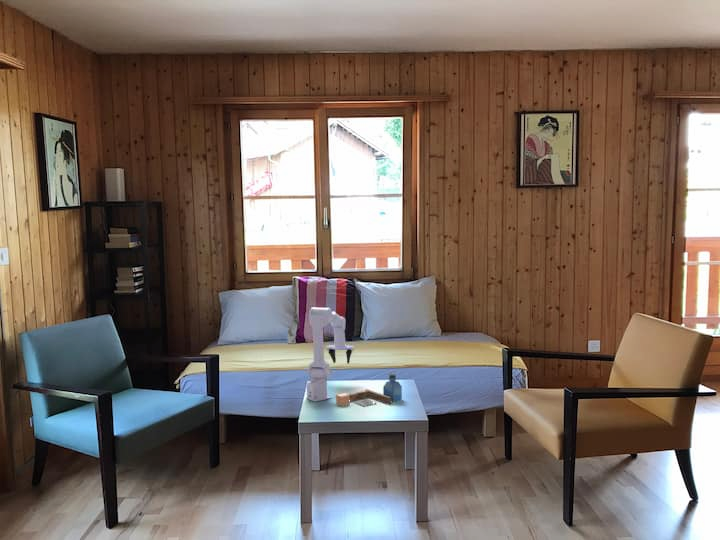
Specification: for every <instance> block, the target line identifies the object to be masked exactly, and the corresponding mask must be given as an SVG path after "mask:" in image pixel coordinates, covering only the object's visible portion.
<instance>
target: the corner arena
mask: <svg viewBox="0 0 720 540" xmlns="http://www.w3.org/2000/svg"><path fill="white" fill-rule="evenodd" d="M348 395H349V400H350V401H349V402H352V401H353V400H354V402H353V404H355V403H356V405H358V404H359V405H358V406H361V407H363V406H364V407H363V408H365V406H366V407H369V406H368V405H370V406H373V405H372V404H373V401H374V400H375V399H377V400H376V401H374V402H375V403H374V405H377V404H376V403H378V400H380V401H379V402H381V401H383V402H382V403H384V402H385V403H384V404H387V403H388V405H390V403H391V404H392V402H391V397H389V396H386V395H383V394H382V393H379V392H377V391H373V390H371V389H368V388H367V389H364V390H362V391H359V392H354V393H350V394H348ZM365 397H367V398H365ZM370 397H371V398H370ZM368 398H370V399H373V398H374V399H373V400H370V399H368ZM357 399H358V401H357ZM361 399H362V400H361Z"/></svg>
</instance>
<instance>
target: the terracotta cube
mask: <svg viewBox="0 0 720 540" xmlns="http://www.w3.org/2000/svg"><path fill="white" fill-rule="evenodd" d="M350 402H351V401H349V394H348V393H345V392H342V393H339V394H335V404H336V405H338V404H339V405H338V406H340V405H341V407H344V406H347V405H346V404H349V405H350ZM343 405H344V406H343Z"/></svg>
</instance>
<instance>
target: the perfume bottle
mask: <svg viewBox="0 0 720 540" xmlns="http://www.w3.org/2000/svg"><path fill="white" fill-rule="evenodd" d="M388 376H389V377H388V380H387V381H386V382H385V383H384V385H383V386H382V387H383V388H382V389H383V390H382V391H383V395H386V396H389V397H391V401H392V402H391V403H395V402H398V401H402V400H403V399H402V398H403V396H402V395H403V394H402V393H403V388H402V387H403V386H402V385H401V384H400V382H399V381H397V376H396V374H394V373H391V374H389V375H388ZM401 399H402V400H401ZM397 400H398V401H397ZM394 401H395V402H394Z"/></svg>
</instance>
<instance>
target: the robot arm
mask: <svg viewBox="0 0 720 540" xmlns="http://www.w3.org/2000/svg"><path fill="white" fill-rule="evenodd" d="M308 321H309V325H310V326H311V328H312V344H313V346H312V349H313V361H310V363H309V364H308V370H307V376H308V378H309V379H310V381H308V382H307V384H306V398H305V399H308V400H310V401H312V402H319V401H324V400H325V401H326V400H329V399H332V397H331V396H329V395H328V380H329V379H330V378H331V369H330V363H329V362H327V360H326V359H325V354H324V353H325V351H324V348H325V347H324V327H326V326H328V324H330V325H331V327H332V329H333V340H334V344H332V345H326V351H328V354H329V356H330V357H331V360H332V363H333V364H335V363H336V361H337V360H336V351H346V352H345V354H346V363H347V365H348V364H350V361H351V360H350V359H351V355H352V354H353V351H354V350H355V346H354V345H349V344H346V332H345V330H346V323H347V322H346V318H345V317H344V316H340V315H339V314H337V312H336V311H332V308H330V307H314V306H313V307H311V308H310V309H309V314H308Z"/></svg>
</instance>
